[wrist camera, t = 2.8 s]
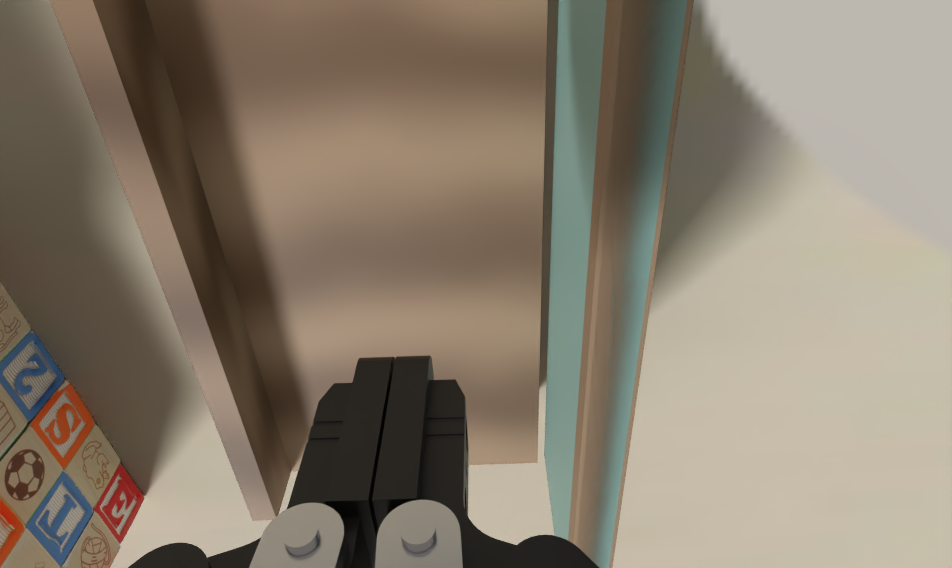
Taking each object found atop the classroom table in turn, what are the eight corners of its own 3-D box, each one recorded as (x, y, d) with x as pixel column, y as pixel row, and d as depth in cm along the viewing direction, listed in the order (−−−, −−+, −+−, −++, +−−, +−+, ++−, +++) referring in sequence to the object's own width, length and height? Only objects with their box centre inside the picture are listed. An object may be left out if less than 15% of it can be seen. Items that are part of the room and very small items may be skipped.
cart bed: (140, -115, 19) (8, -107, 13) (536, -134, 19) (563, -134, 13) (290, 407, 31) (252, 520, 26) (530, 398, 31) (542, 510, 26)
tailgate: (558, -110, 16) (624, -92, 9) (606, -112, 16) (707, -97, 9) (541, 454, 27) (565, 643, 21) (569, 453, 27) (601, 642, 21)
